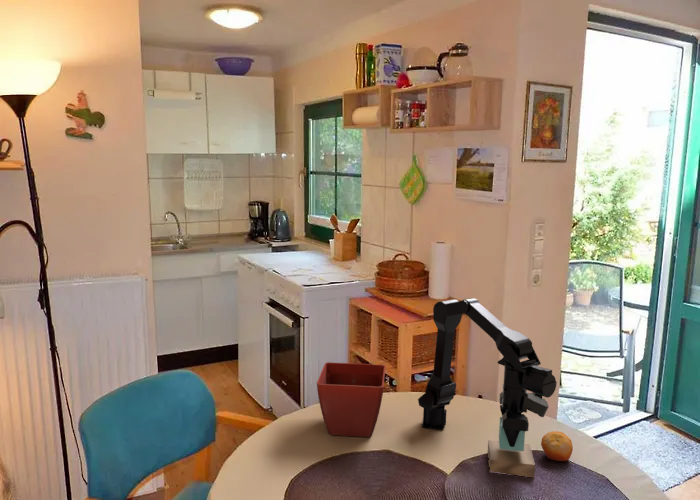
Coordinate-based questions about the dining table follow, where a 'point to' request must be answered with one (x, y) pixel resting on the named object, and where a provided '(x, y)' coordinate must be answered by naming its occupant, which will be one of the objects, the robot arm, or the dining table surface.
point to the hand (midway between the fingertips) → (511, 440)
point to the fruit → (557, 446)
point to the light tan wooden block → (511, 460)
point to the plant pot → (351, 397)
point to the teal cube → (504, 442)
